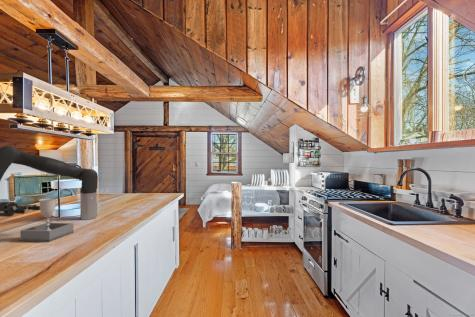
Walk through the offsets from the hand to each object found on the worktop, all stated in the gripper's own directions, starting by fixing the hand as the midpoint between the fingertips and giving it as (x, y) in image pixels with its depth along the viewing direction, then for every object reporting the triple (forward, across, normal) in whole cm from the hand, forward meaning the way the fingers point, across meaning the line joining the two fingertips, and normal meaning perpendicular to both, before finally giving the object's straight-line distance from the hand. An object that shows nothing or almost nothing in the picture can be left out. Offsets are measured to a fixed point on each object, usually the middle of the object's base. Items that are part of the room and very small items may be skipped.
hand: (32, 209), depth 124 cm
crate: (+9, 0, +14) cm, 16 cm away
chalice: (+9, 0, +13) cm, 15 cm away
